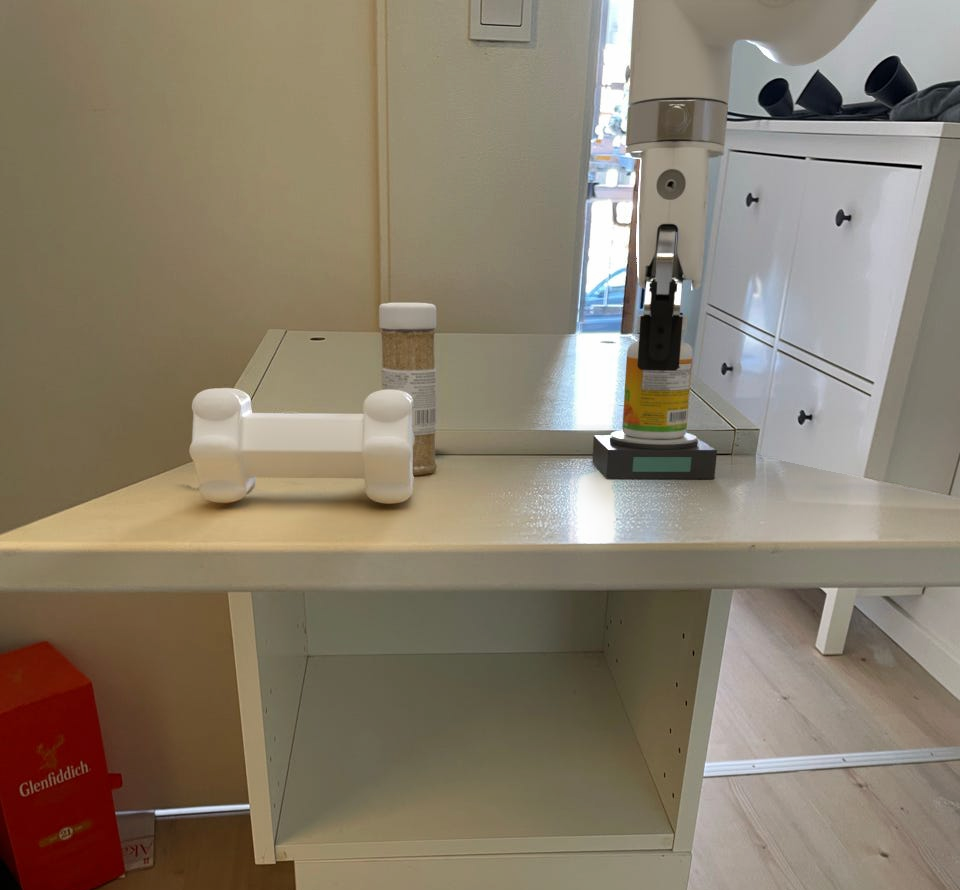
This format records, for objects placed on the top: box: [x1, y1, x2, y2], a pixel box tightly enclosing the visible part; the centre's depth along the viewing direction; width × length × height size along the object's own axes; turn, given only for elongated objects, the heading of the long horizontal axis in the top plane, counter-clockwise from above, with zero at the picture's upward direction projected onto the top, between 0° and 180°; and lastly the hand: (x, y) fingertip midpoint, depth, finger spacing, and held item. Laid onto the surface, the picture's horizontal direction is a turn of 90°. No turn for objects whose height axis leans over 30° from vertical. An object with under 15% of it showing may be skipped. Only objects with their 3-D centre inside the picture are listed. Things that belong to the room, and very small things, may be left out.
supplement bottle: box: [622, 313, 694, 439], centre depth 81 cm, size 5×5×10 cm
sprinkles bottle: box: [378, 301, 438, 476], centre depth 80 cm, size 5×5×13 cm
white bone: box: [188, 387, 415, 505], centre depth 69 cm, size 15×9×8 cm, turn 92°
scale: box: [591, 429, 718, 480], centre depth 83 cm, size 9×8×3 cm
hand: (659, 364), depth 81 cm, fingers open, 9 cm apart
